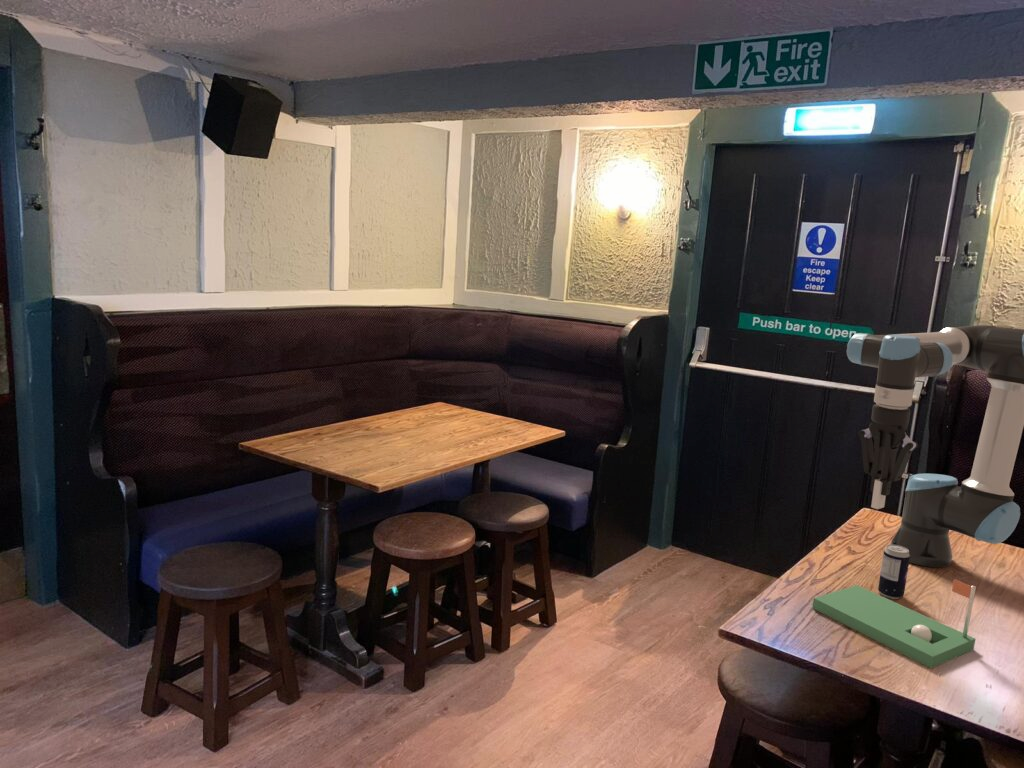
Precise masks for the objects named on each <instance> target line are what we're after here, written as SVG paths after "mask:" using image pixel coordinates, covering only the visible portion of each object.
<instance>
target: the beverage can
mask: <svg viewBox="0 0 1024 768" xmlns="http://www.w3.org/2000/svg"><path fill="white" fill-rule="evenodd" d="M909 560H910V555H909V550H908V549H907V548H905V547H902V546H899V545H891V544H887V545H886V547H885V549H884V550H883V554H882V561H881V567H880V574H879V579H878V580H879V581H878V586H877V590H878V592H879V593H880V594H881V596H882V597H884V598H887V599H889V600H891V599H892V600H899V599H900V598H901V597H902V598H903V597H904V595H905V589H906V584H907V577H908V573H909V565H910V562H909Z"/></svg>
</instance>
